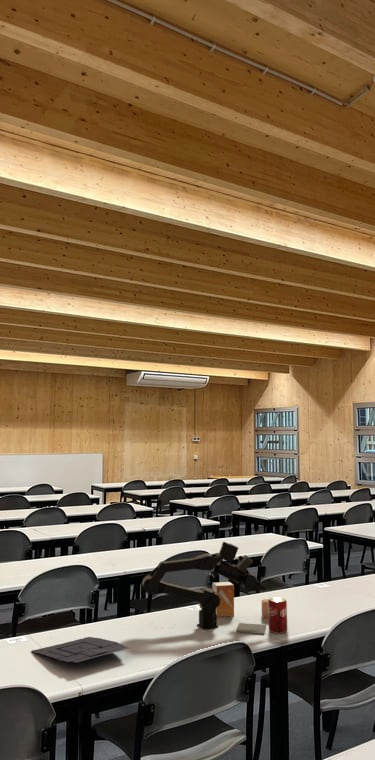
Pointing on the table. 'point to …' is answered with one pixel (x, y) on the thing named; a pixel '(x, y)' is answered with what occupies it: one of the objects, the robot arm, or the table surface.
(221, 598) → the small box
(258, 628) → the coaster
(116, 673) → the table surface
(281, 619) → the soda can
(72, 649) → the dark grey flat square
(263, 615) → the orange-brown round cylinder
